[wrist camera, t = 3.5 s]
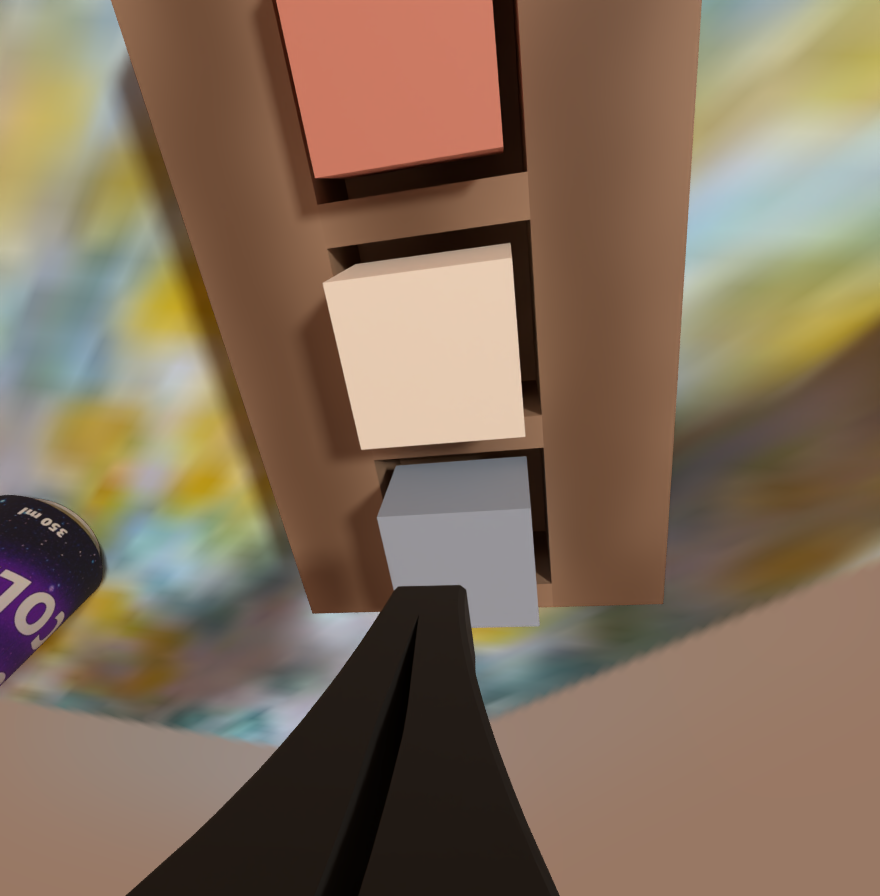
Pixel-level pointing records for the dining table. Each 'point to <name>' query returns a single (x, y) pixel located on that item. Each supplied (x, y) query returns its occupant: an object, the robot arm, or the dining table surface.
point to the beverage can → (41, 574)
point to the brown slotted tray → (440, 230)
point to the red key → (393, 82)
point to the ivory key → (430, 347)
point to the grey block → (465, 535)
